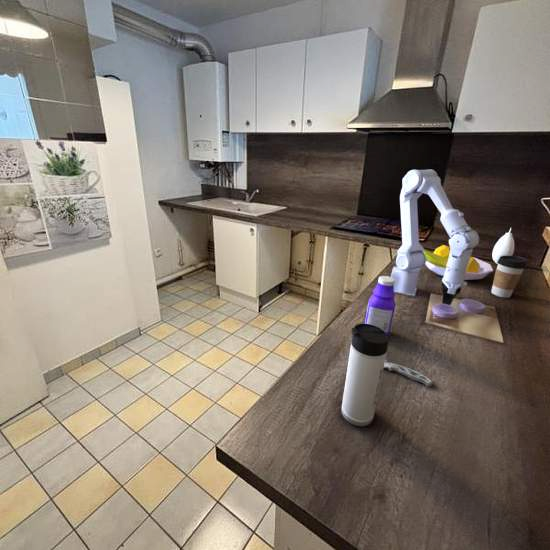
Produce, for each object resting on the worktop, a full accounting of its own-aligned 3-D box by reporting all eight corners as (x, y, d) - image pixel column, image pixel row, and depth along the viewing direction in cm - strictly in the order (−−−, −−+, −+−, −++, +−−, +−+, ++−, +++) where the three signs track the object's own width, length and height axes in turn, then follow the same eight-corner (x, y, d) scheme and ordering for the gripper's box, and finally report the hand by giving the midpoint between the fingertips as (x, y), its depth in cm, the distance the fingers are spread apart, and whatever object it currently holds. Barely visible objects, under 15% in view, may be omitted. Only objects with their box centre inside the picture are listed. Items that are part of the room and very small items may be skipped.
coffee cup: (518, 301, 106) (534, 262, 100) (493, 298, 107) (506, 260, 102) (506, 291, 114) (520, 255, 108) (483, 289, 115) (495, 253, 109)
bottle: (389, 329, 87) (400, 276, 80) (389, 340, 82) (401, 284, 75) (364, 325, 89) (372, 272, 82) (363, 335, 84) (372, 280, 77)
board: (424, 323, 91) (425, 322, 90) (430, 294, 110) (430, 293, 110) (503, 344, 81) (503, 342, 81) (494, 308, 101) (494, 307, 100)
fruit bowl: (483, 269, 135) (491, 246, 130) (492, 292, 112) (501, 265, 108) (417, 259, 146) (422, 237, 142) (413, 277, 124) (419, 252, 120)
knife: (355, 361, 74) (358, 354, 76) (431, 388, 66) (432, 380, 68) (355, 356, 73) (359, 349, 76) (432, 383, 65) (433, 375, 67)
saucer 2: (459, 309, 98) (460, 304, 97) (458, 301, 104) (460, 296, 103) (484, 315, 95) (486, 310, 94) (482, 306, 101) (484, 301, 100)
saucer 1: (431, 314, 95) (432, 309, 94) (432, 305, 100) (434, 301, 100) (456, 321, 91) (458, 315, 91) (456, 311, 97) (458, 306, 96)
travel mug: (335, 402, 61) (347, 320, 54) (366, 400, 62) (381, 320, 54) (344, 428, 56) (358, 341, 48) (378, 426, 56) (397, 340, 48)
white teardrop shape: (509, 263, 142) (522, 227, 135) (507, 268, 137) (521, 230, 130) (490, 260, 147) (501, 224, 140) (487, 263, 142) (499, 227, 135)
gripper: (471, 278, 86) (459, 317, 91) (470, 263, 97) (459, 299, 103) (444, 273, 89) (434, 311, 94) (446, 259, 101) (436, 294, 106)
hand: (445, 305), depth 99 cm, fingers closed
